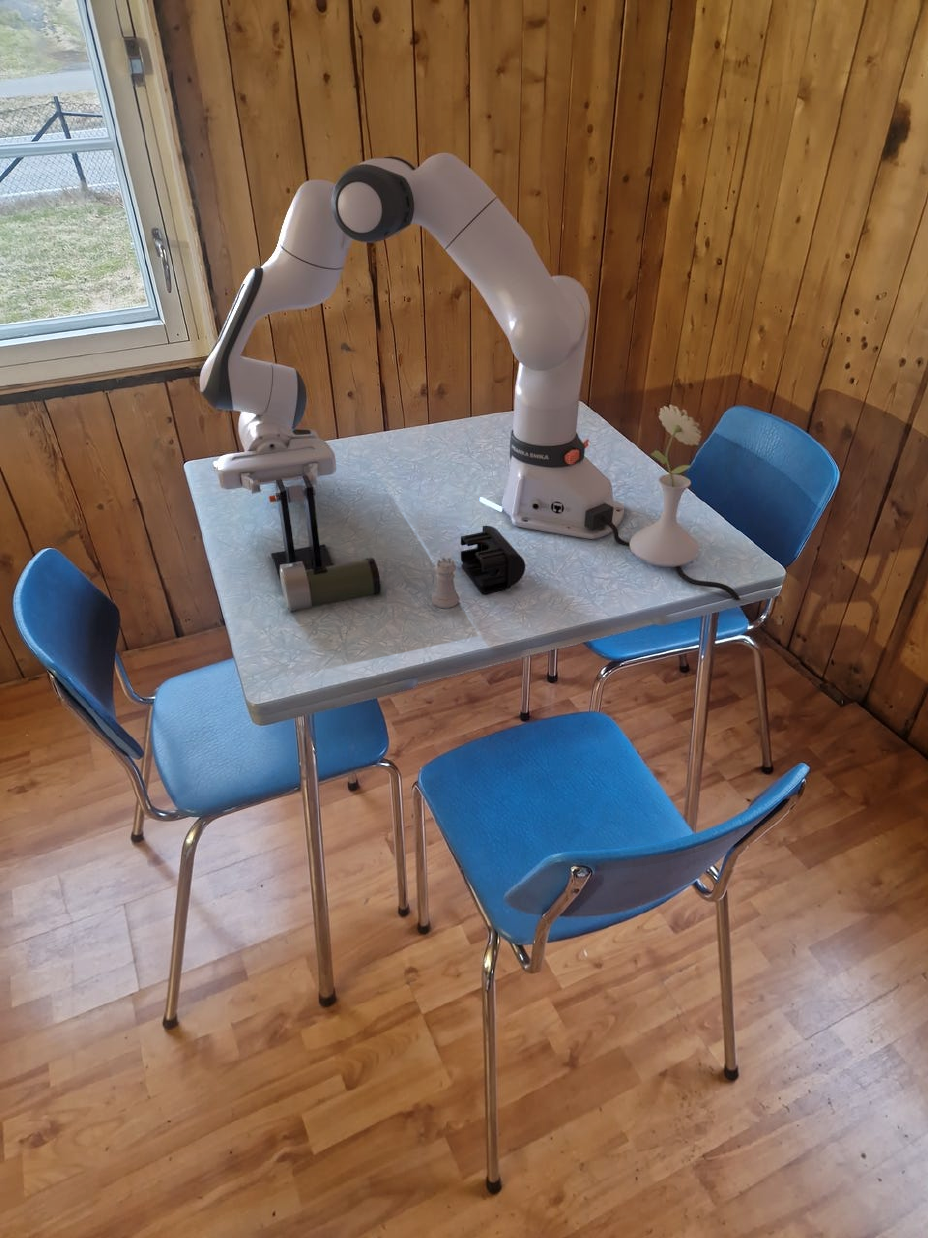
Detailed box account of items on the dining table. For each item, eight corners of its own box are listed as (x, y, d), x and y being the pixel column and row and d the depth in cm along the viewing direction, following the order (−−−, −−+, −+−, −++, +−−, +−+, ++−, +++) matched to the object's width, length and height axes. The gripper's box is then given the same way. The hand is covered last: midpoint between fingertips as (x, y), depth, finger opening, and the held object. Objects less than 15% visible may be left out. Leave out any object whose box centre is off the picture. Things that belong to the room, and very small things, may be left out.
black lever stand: (271, 559, 138) (258, 472, 129) (325, 550, 141) (315, 464, 132) (283, 594, 130) (269, 503, 121) (339, 583, 132) (330, 494, 123)
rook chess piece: (430, 599, 129) (429, 554, 124) (459, 597, 129) (459, 553, 125) (431, 615, 125) (430, 570, 121) (461, 614, 126) (461, 569, 121)
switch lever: (270, 506, 140) (267, 492, 140) (303, 501, 142) (300, 487, 141) (279, 504, 125) (276, 488, 125) (315, 498, 127) (313, 482, 126)
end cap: (524, 587, 131) (526, 551, 128) (483, 597, 129) (484, 560, 125) (498, 557, 139) (500, 521, 135) (459, 565, 137) (459, 529, 133)
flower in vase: (710, 567, 137) (739, 423, 122) (647, 578, 134) (670, 431, 119) (672, 530, 147) (695, 392, 132) (612, 539, 144) (630, 399, 130)
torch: (291, 621, 124) (285, 580, 120) (282, 596, 129) (276, 556, 125) (382, 603, 128) (380, 563, 124) (370, 579, 133) (368, 540, 129)
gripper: (208, 443, 145) (217, 476, 135) (324, 428, 151) (341, 458, 140) (215, 476, 149) (224, 511, 138) (327, 460, 155) (344, 492, 144)
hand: (284, 484), depth 139 cm, fingers open, 8 cm apart
